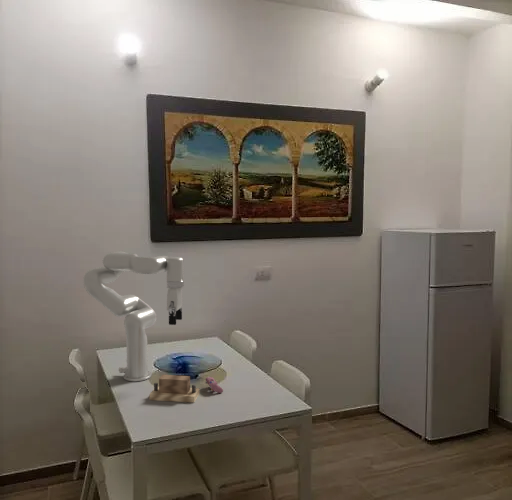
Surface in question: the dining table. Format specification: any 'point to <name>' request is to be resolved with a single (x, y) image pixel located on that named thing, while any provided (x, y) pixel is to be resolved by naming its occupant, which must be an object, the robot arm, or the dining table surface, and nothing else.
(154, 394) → the peg stand
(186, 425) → the dining table surface
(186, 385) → the walnut bar
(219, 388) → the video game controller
